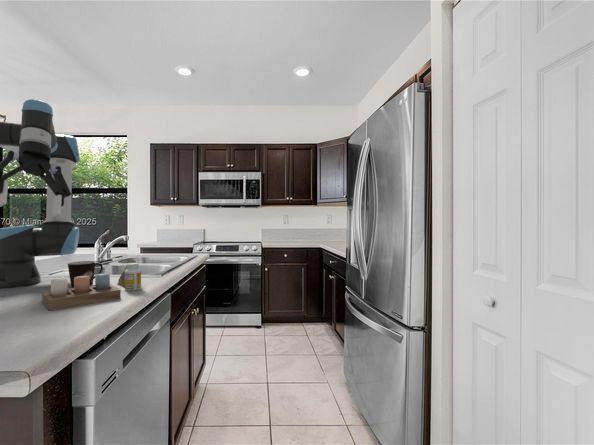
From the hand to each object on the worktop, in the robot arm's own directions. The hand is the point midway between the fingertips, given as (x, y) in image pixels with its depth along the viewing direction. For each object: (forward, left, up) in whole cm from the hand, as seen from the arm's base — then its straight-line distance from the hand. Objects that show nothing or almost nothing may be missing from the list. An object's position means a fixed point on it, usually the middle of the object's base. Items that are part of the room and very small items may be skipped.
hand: (31, 210), depth 93 cm
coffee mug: (-21, +18, -29) cm, 40 cm away
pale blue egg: (-4, +19, -27) cm, 33 cm away
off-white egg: (-4, +7, -27) cm, 28 cm away
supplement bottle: (-8, +30, -29) cm, 43 cm away
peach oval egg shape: (-4, +13, -27) cm, 30 cm away
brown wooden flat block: (-4, +13, -29) cm, 32 cm away
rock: (-16, +31, -29) cm, 46 cm away
